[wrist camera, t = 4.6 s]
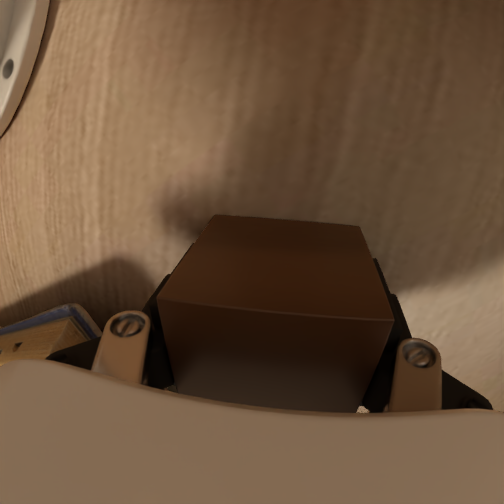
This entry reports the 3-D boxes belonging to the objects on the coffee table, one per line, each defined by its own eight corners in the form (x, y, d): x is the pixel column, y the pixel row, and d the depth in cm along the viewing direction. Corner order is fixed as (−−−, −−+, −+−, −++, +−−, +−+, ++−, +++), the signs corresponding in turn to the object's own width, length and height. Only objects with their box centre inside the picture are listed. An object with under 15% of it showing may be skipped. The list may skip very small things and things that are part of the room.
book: (288, 489, 22) (281, 544, 16) (150, 481, 27) (136, 521, 21) (104, 266, 13) (20, 356, 7) (-12, 319, 18) (-53, 363, 12)
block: (214, 214, 11) (155, 297, 6) (359, 225, 10) (395, 320, 6) (219, 325, 13) (184, 421, 9) (336, 336, 12) (342, 439, 8)
